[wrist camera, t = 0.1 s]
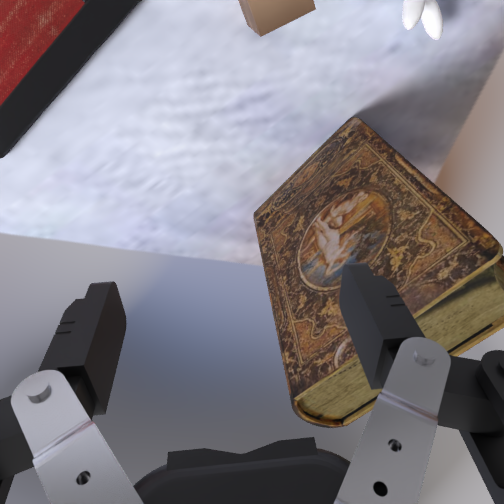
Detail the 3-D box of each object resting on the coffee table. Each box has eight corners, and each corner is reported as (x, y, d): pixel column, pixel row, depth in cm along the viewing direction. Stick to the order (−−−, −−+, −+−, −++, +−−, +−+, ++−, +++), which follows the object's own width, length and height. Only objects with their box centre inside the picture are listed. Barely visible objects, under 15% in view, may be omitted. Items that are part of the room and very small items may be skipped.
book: (278, 244, 48) (332, 434, 28) (246, 219, 46) (279, 408, 25) (384, 147, 42) (551, 297, 22) (353, 113, 40) (510, 246, 19)
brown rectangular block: (236, -5, 33) (246, -3, 25) (279, -27, 33) (304, -32, 24) (247, 25, 34) (260, 36, 26) (289, 4, 34) (315, 9, 26)
